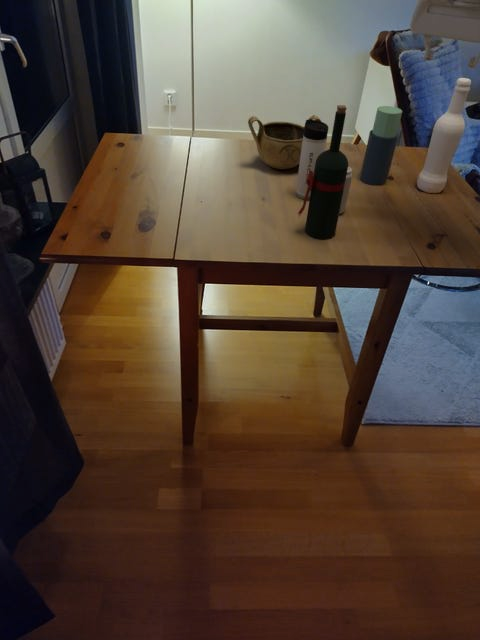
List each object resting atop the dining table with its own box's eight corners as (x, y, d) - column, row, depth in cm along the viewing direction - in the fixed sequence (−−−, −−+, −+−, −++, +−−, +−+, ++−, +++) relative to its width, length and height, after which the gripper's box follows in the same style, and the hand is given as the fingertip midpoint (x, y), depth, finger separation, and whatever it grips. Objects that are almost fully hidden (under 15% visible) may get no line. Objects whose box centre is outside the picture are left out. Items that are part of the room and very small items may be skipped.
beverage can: (321, 203, 128) (328, 161, 120) (344, 206, 127) (353, 164, 119) (320, 214, 123) (327, 171, 115) (344, 217, 123) (353, 174, 115)
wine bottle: (293, 223, 119) (309, 100, 99) (331, 223, 120) (355, 101, 100) (298, 239, 113) (316, 111, 93) (338, 239, 114) (365, 112, 94)
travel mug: (306, 188, 135) (316, 117, 122) (322, 196, 131) (334, 124, 118) (290, 193, 132) (299, 121, 119) (305, 202, 128) (316, 128, 115)
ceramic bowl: (253, 178, 138) (256, 127, 129) (240, 156, 151) (242, 108, 141) (322, 174, 143) (331, 124, 133) (304, 153, 155) (311, 106, 145)
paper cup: (398, 132, 133) (405, 109, 129) (391, 139, 129) (397, 115, 124) (377, 127, 135) (382, 104, 131) (369, 134, 131) (374, 110, 127)
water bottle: (389, 178, 142) (405, 118, 130) (380, 187, 137) (397, 125, 125) (365, 172, 145) (378, 112, 134) (355, 180, 140) (369, 119, 128)
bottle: (449, 190, 138) (488, 81, 118) (430, 196, 134) (468, 84, 114) (427, 180, 143) (462, 73, 123) (409, 185, 139) (442, 76, 120)
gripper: (533, -11, 88) (502, 69, 98) (427, -22, 96) (408, 53, 105) (528, -9, 84) (497, 74, 93) (418, -20, 92) (399, 58, 101)
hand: (449, 63), depth 99 cm, fingers open, 8 cm apart
